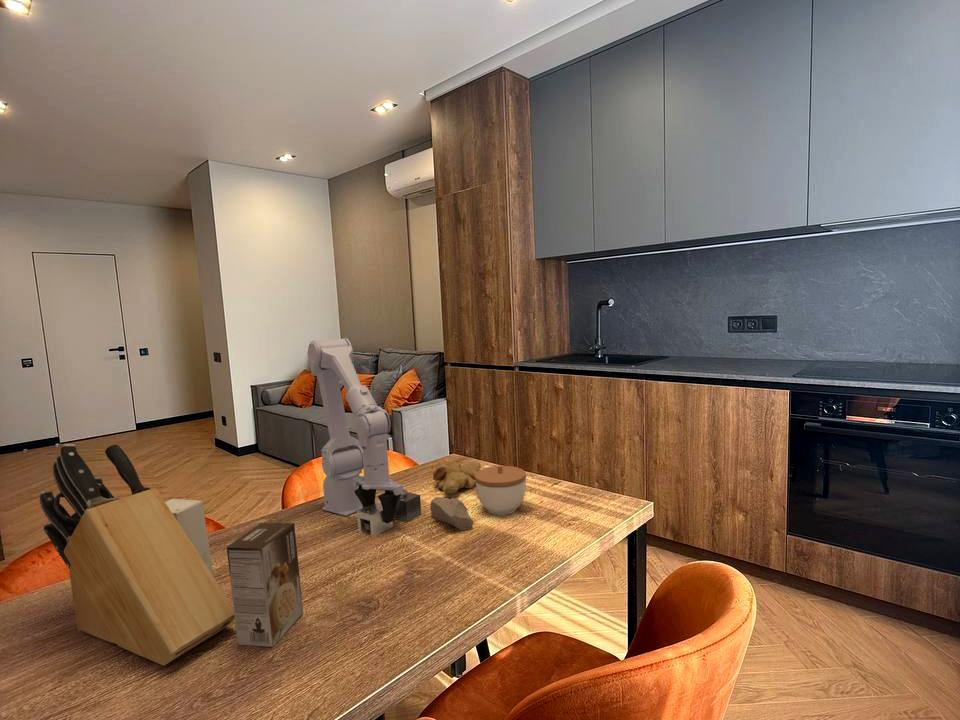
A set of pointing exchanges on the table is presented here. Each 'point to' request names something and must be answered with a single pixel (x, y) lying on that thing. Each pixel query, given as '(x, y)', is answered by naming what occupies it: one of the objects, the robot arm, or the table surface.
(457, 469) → the ginger root
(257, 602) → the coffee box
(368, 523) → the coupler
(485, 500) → the lidded bowl
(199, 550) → the skincare box
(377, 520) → the notched block with hole
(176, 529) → the knife block
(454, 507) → the concrete fragment
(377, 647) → the table surface
